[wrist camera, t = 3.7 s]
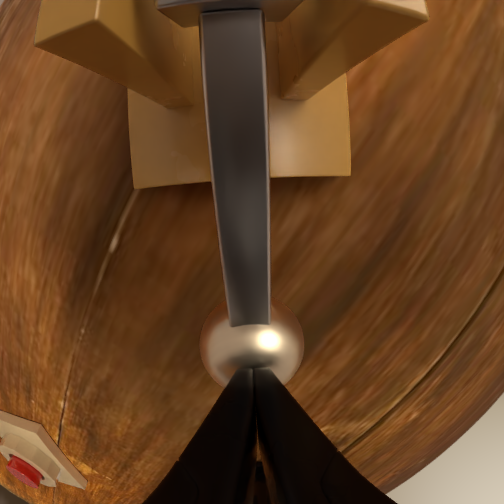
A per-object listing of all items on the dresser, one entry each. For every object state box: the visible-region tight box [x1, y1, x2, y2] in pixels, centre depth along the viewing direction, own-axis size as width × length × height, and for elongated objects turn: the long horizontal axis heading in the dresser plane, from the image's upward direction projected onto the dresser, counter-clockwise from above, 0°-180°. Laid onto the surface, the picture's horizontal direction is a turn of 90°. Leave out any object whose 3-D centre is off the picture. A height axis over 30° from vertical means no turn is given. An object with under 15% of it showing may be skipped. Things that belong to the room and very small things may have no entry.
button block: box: [0, 410, 87, 489], centre depth 17 cm, size 10×8×3 cm
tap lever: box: [155, 0, 304, 388], centre depth 6 cm, size 13×3×3 cm, turn 4°
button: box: [6, 454, 43, 488], centre depth 15 cm, size 4×4×2 cm
